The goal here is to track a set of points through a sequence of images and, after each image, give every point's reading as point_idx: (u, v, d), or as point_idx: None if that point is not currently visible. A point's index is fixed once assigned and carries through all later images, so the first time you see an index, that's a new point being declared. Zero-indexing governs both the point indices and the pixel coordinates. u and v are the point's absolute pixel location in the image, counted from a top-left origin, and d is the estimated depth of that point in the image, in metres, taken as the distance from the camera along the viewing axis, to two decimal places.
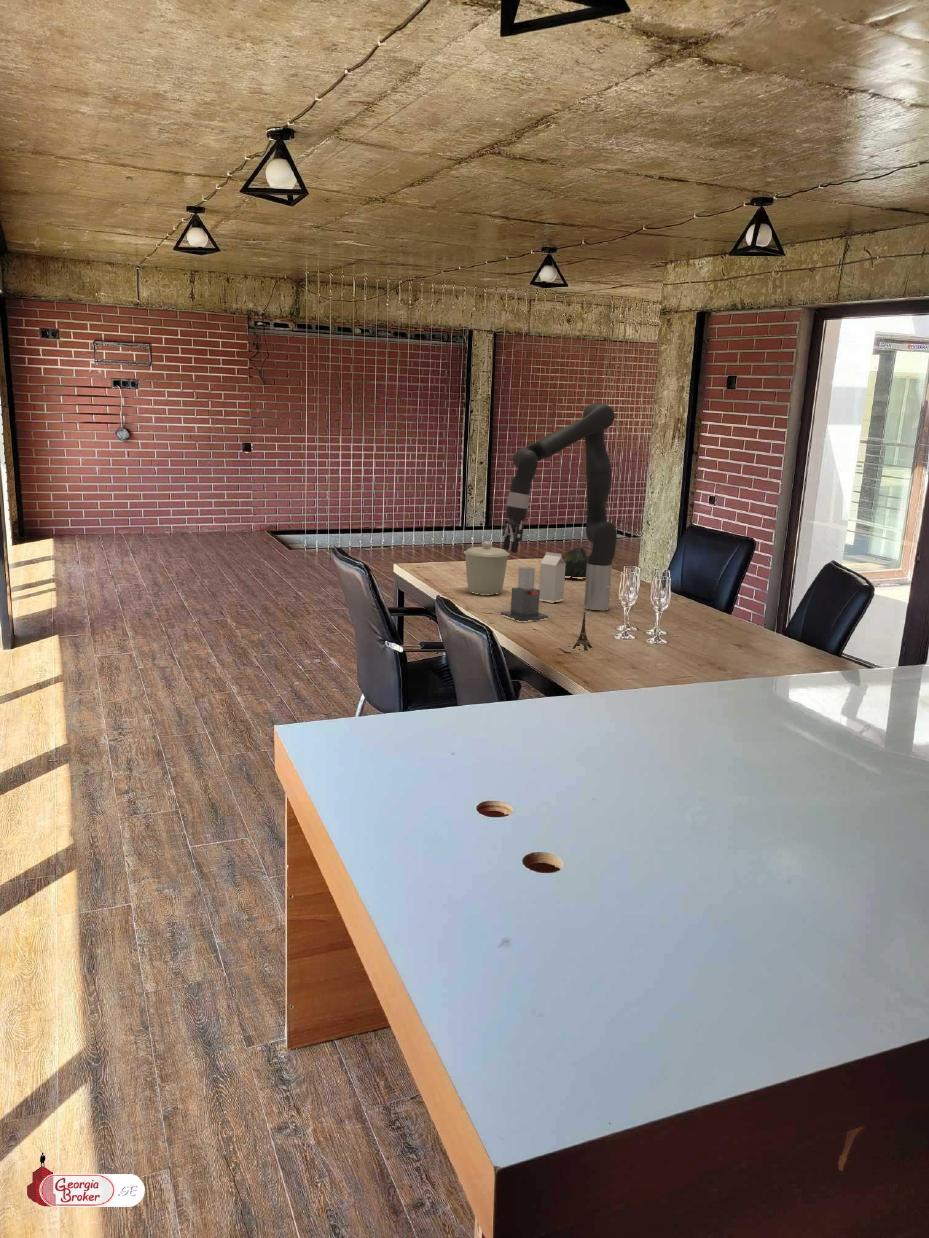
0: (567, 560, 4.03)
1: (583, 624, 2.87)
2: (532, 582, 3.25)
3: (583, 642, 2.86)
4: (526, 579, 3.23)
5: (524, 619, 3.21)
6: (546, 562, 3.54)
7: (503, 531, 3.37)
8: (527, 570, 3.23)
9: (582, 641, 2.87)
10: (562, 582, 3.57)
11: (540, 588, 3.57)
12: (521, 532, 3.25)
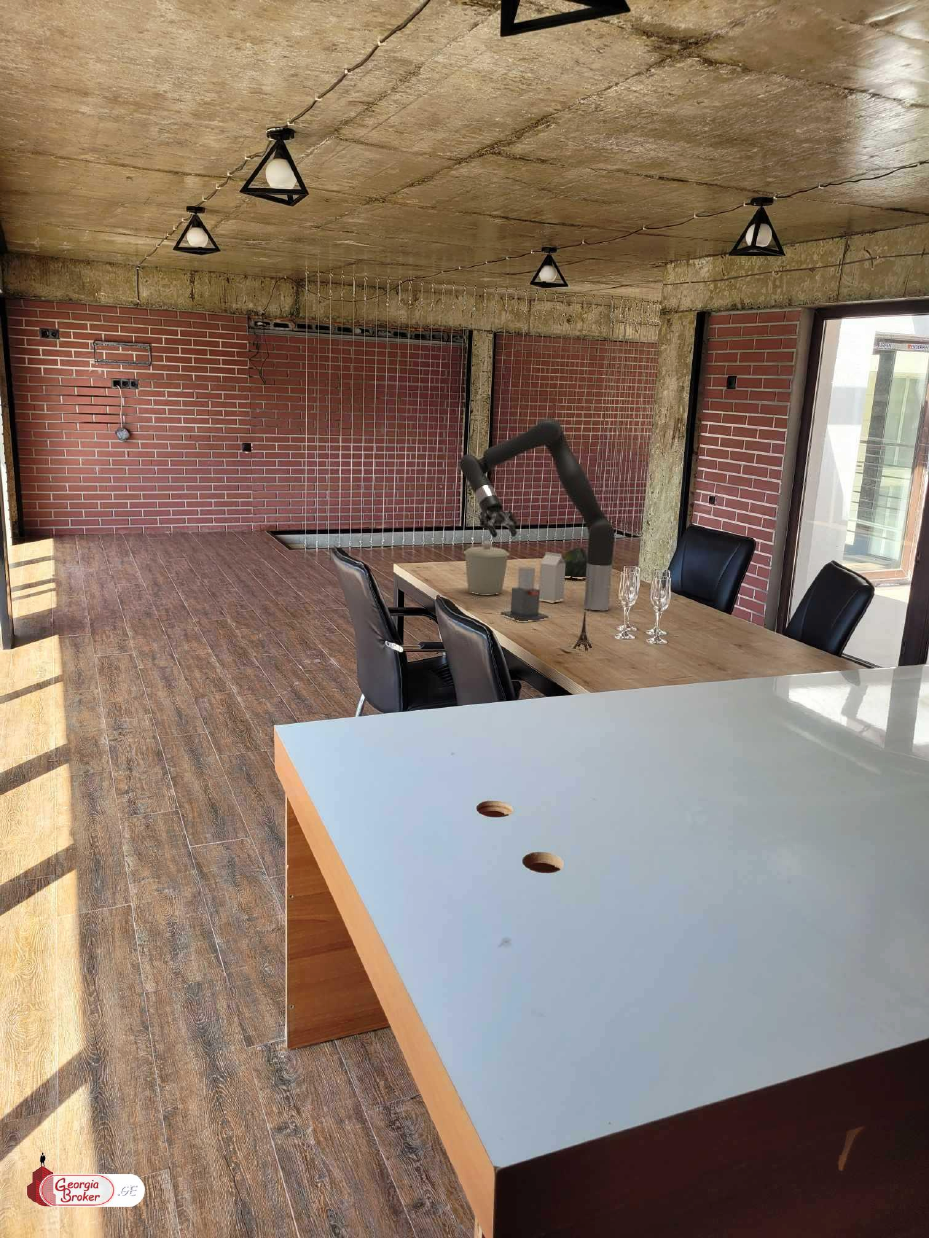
0: (567, 560, 4.03)
1: (583, 624, 2.86)
2: (532, 582, 3.25)
3: (583, 642, 2.86)
4: (526, 579, 3.23)
5: (524, 619, 3.21)
6: (546, 562, 3.54)
7: None
8: (527, 570, 3.23)
9: (582, 641, 2.87)
10: (562, 582, 3.57)
11: (540, 588, 3.57)
12: (482, 518, 3.33)
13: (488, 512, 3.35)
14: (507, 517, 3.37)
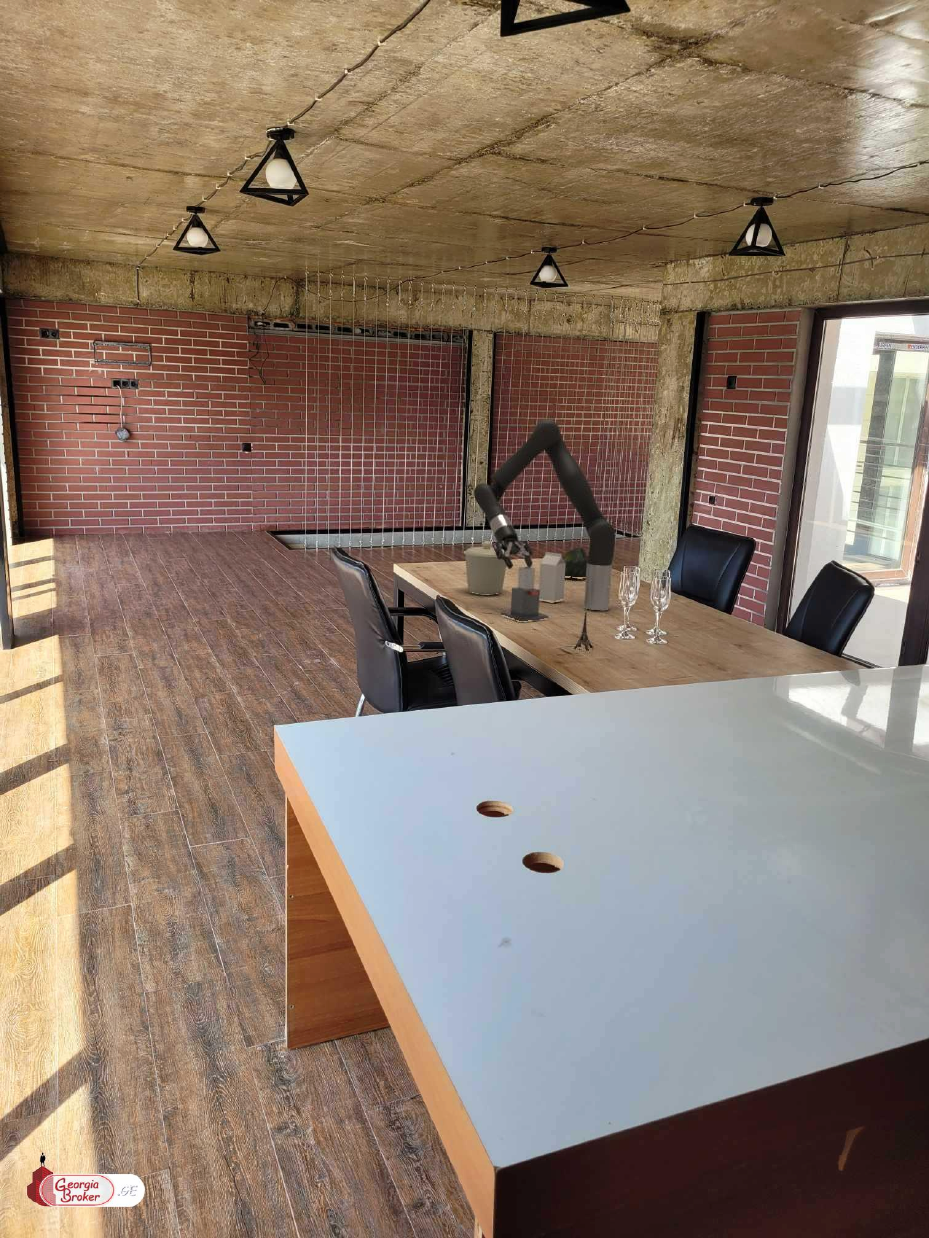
0: (567, 560, 4.03)
1: (584, 624, 2.86)
2: (532, 582, 3.25)
3: (584, 642, 2.86)
4: (526, 579, 3.23)
5: (524, 619, 3.21)
6: (546, 562, 3.54)
7: None
8: (527, 570, 3.23)
9: (583, 641, 2.86)
10: (562, 582, 3.57)
11: (540, 588, 3.57)
12: (497, 549, 3.26)
13: (503, 542, 3.29)
14: (523, 547, 3.31)
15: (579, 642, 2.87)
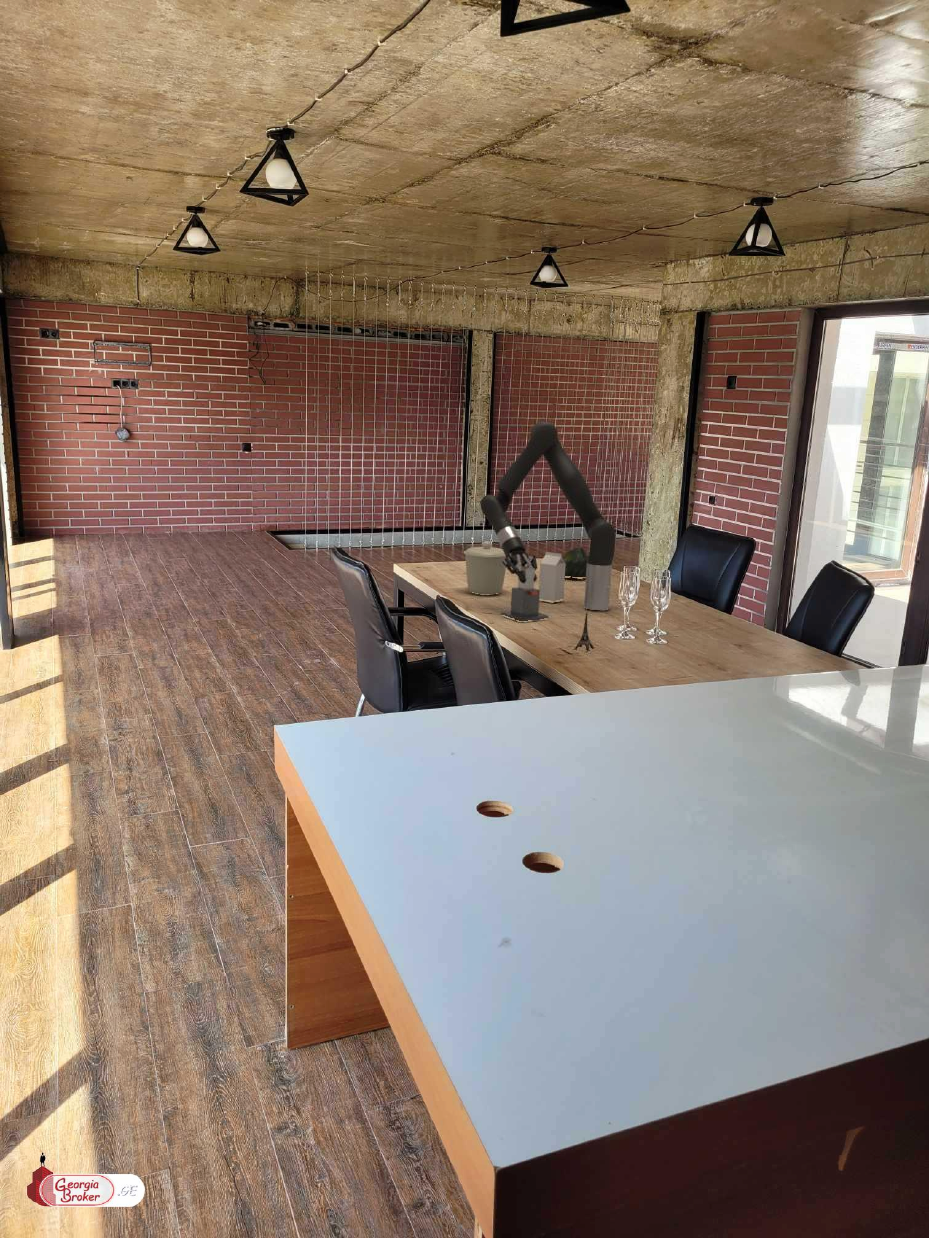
0: (567, 560, 4.03)
1: (585, 625, 2.86)
2: (532, 582, 3.25)
3: (585, 643, 2.86)
4: (526, 579, 3.23)
5: (524, 619, 3.21)
6: (546, 562, 3.54)
7: None
8: (527, 570, 3.23)
9: (584, 642, 2.86)
10: (562, 582, 3.57)
11: (540, 588, 3.57)
12: (509, 564, 3.23)
13: (511, 555, 3.26)
14: (529, 561, 3.27)
15: (580, 642, 2.87)
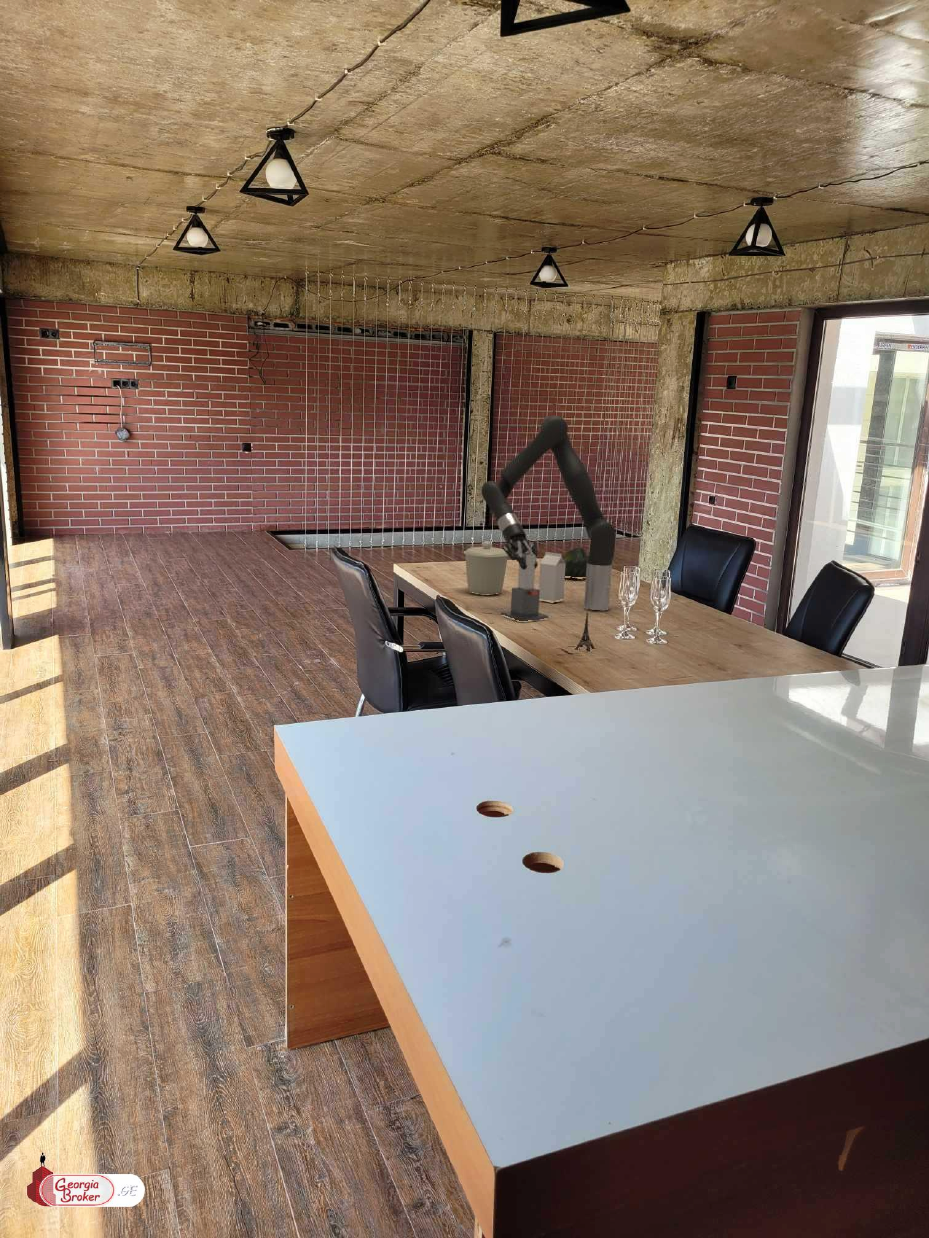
0: (567, 560, 4.03)
1: (586, 625, 2.86)
2: (533, 569, 3.24)
3: (586, 643, 2.86)
4: None
5: (524, 619, 3.21)
6: (546, 562, 3.54)
7: None
8: (528, 556, 3.21)
9: (585, 642, 2.86)
10: (562, 582, 3.57)
11: (540, 588, 3.57)
12: (509, 551, 3.22)
13: (511, 542, 3.25)
14: (530, 548, 3.26)
15: (580, 642, 2.86)
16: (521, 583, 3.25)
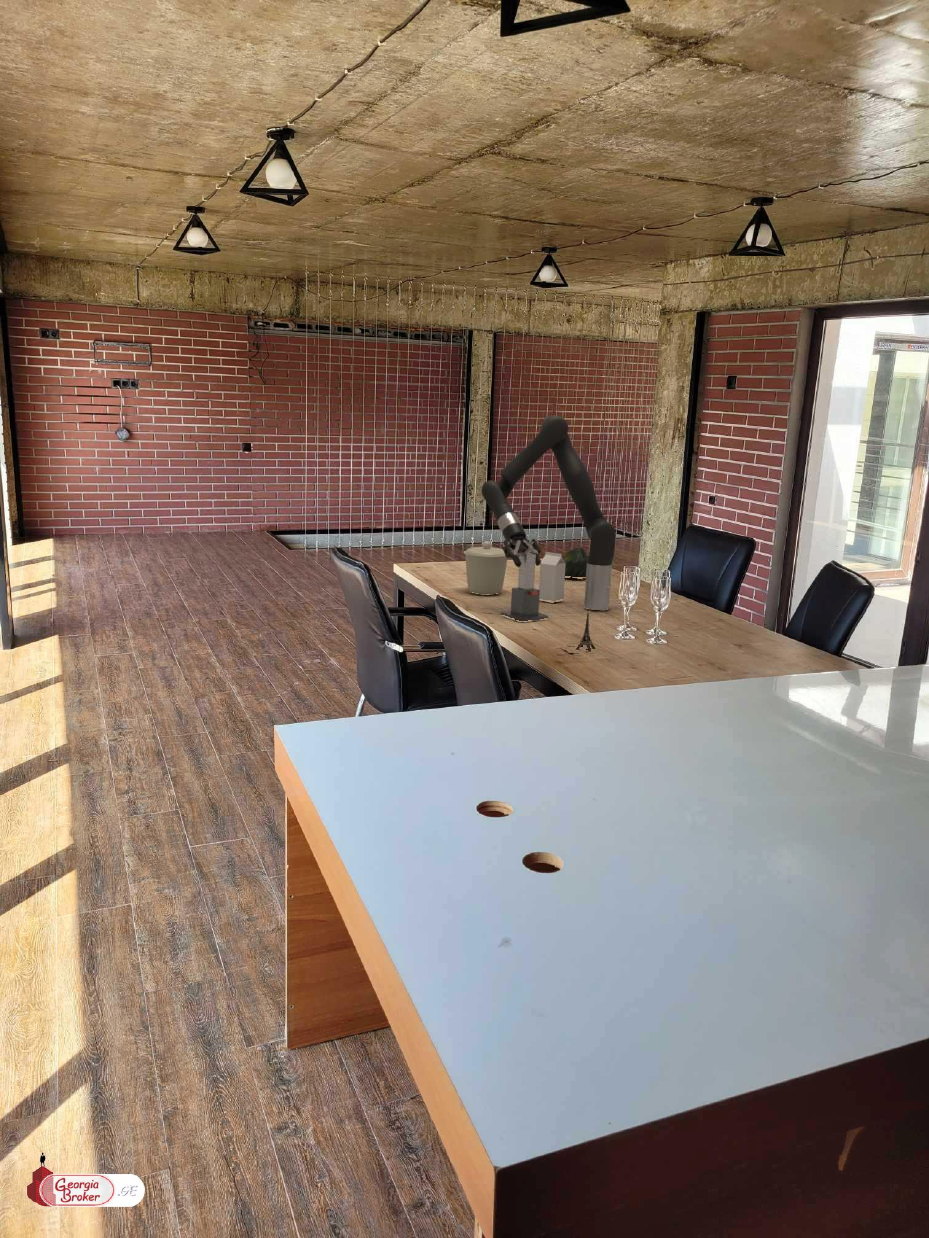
0: (567, 560, 4.03)
1: (586, 625, 2.86)
2: (533, 568, 3.24)
3: (586, 643, 2.85)
4: (526, 565, 3.22)
5: (524, 619, 3.21)
6: (546, 562, 3.54)
7: None
8: (528, 556, 3.21)
9: (585, 642, 2.86)
10: (562, 582, 3.57)
11: (540, 588, 3.57)
12: (505, 547, 3.22)
13: (511, 541, 3.25)
14: (531, 546, 3.27)
15: (581, 643, 2.86)
16: (521, 583, 3.25)
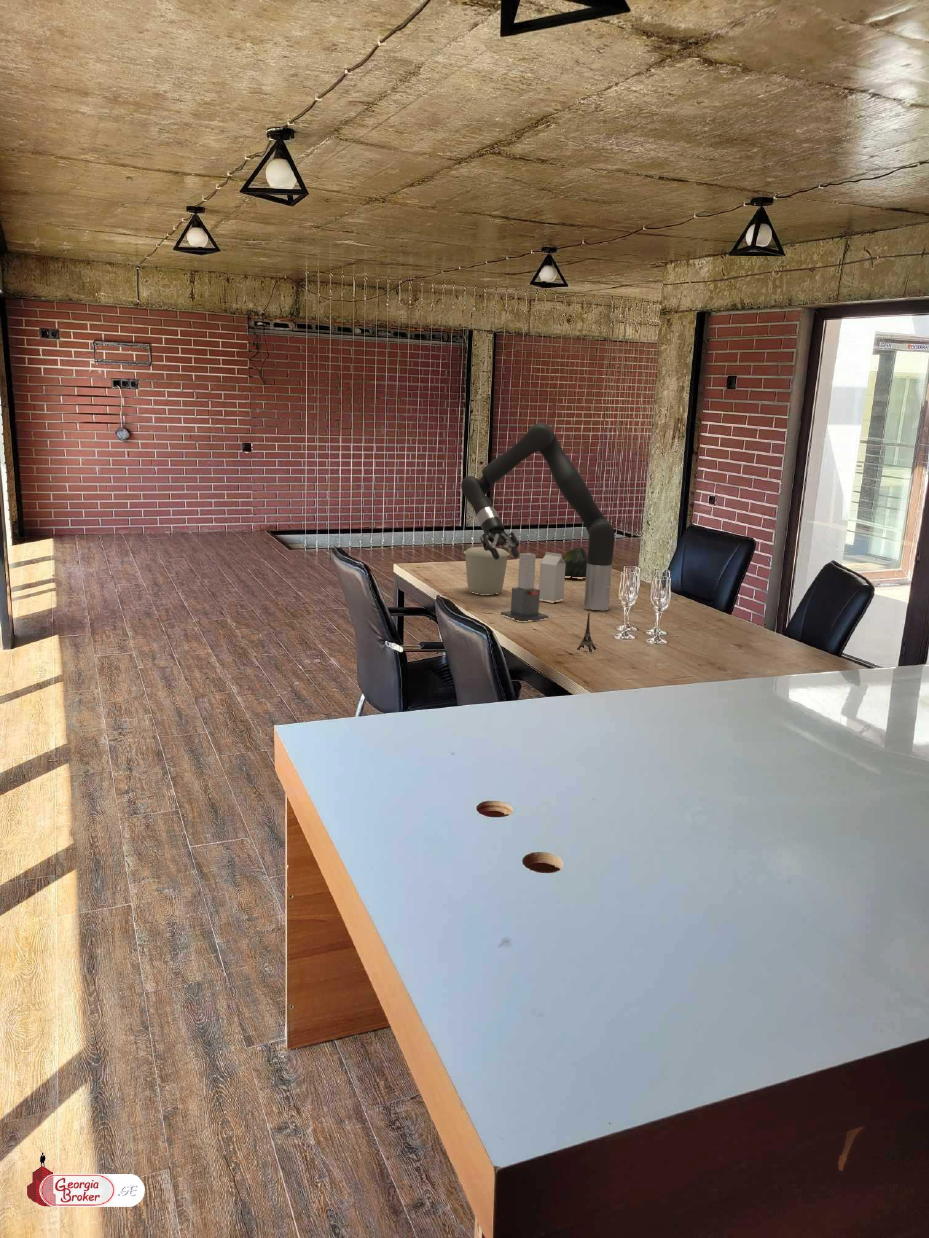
0: (567, 560, 4.03)
1: (587, 625, 2.85)
2: (533, 568, 3.24)
3: (587, 643, 2.85)
4: (526, 565, 3.22)
5: (524, 619, 3.21)
6: (546, 562, 3.54)
7: None
8: (528, 556, 3.21)
9: (586, 642, 2.85)
10: (562, 582, 3.57)
11: (540, 588, 3.57)
12: (484, 540, 3.33)
13: (490, 534, 3.35)
14: (509, 539, 3.37)
15: (582, 643, 2.86)
16: (521, 583, 3.25)
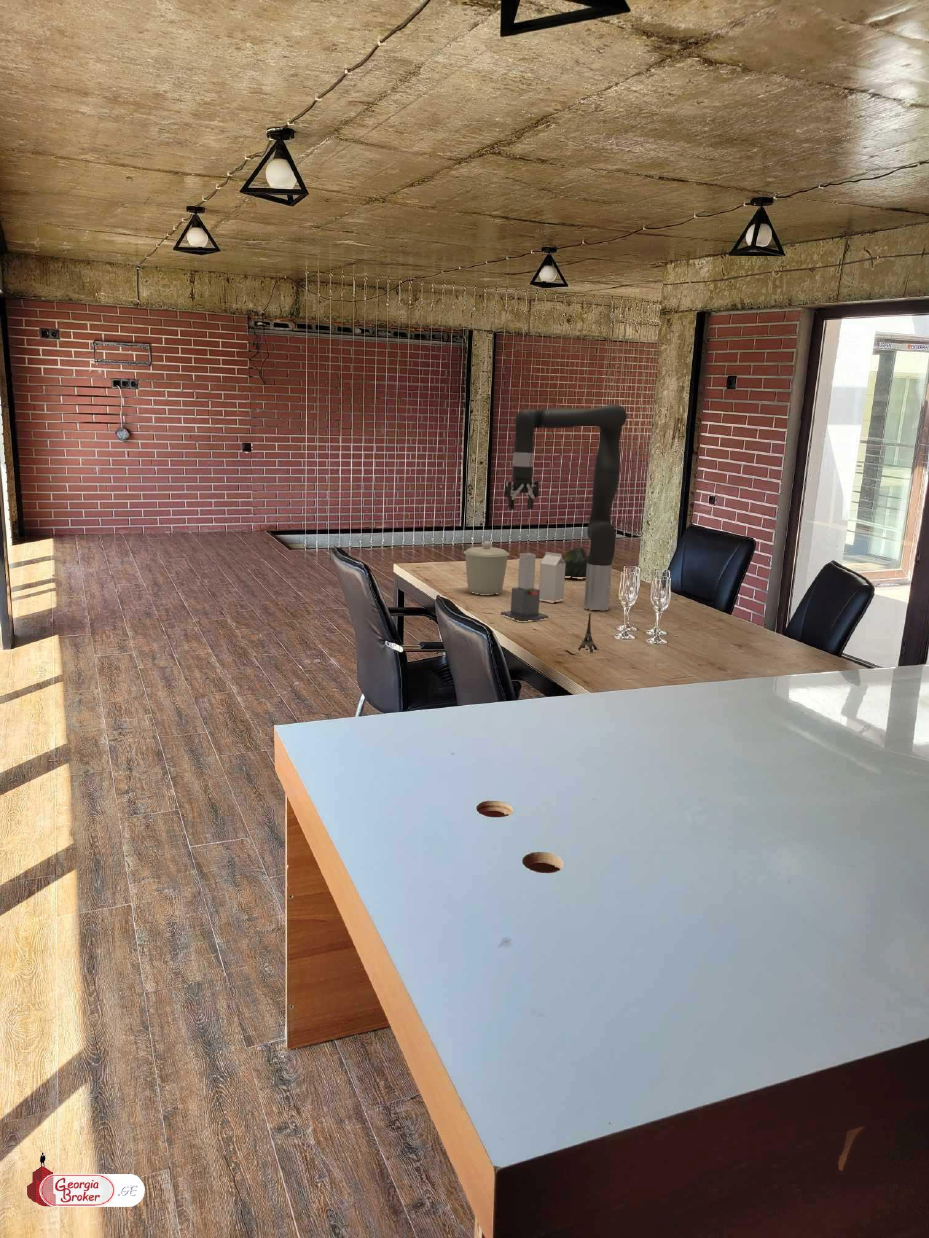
0: (567, 560, 4.03)
1: (588, 625, 2.85)
2: (533, 568, 3.24)
3: (588, 643, 2.85)
4: (526, 565, 3.22)
5: (524, 619, 3.21)
6: (546, 562, 3.54)
7: (533, 492, 3.45)
8: (528, 556, 3.21)
9: (587, 642, 2.85)
10: (562, 582, 3.57)
11: (540, 588, 3.57)
12: (507, 489, 3.36)
13: (516, 482, 3.37)
14: (531, 491, 3.41)
15: (583, 643, 2.86)
16: (521, 583, 3.25)
